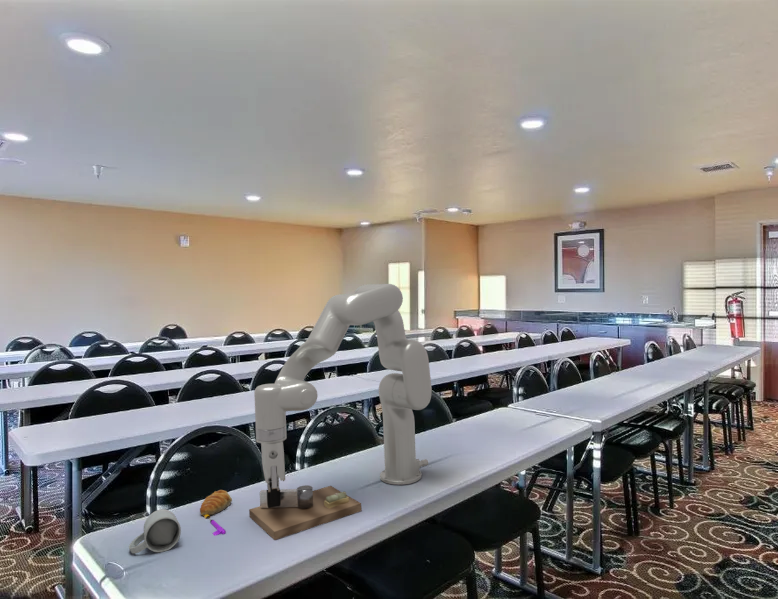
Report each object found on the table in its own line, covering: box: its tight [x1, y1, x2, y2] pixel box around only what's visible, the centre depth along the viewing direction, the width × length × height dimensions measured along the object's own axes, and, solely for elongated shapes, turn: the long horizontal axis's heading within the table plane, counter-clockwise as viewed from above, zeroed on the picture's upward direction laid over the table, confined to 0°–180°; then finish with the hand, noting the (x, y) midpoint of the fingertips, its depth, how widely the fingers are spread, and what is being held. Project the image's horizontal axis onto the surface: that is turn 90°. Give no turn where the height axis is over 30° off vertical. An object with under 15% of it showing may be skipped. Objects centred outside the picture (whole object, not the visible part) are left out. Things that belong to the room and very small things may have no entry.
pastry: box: [199, 489, 233, 516], centre depth 138 cm, size 9×7×4 cm
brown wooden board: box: [248, 485, 362, 541], centre depth 133 cm, size 24×16×5 cm, turn 126°
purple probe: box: [201, 514, 227, 537], centre depth 130 cm, size 3×1×16 cm
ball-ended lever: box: [259, 484, 314, 509], centre depth 133 cm, size 14×4×4 cm, turn 89°
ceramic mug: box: [128, 509, 182, 555], centre depth 119 cm, size 11×8×8 cm
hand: (273, 505), depth 130 cm, fingers closed
